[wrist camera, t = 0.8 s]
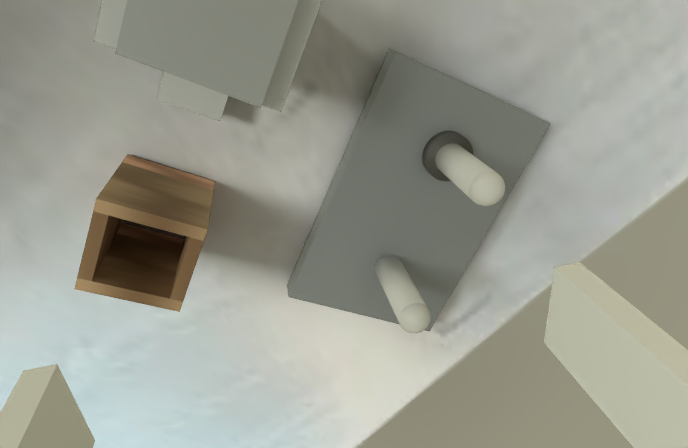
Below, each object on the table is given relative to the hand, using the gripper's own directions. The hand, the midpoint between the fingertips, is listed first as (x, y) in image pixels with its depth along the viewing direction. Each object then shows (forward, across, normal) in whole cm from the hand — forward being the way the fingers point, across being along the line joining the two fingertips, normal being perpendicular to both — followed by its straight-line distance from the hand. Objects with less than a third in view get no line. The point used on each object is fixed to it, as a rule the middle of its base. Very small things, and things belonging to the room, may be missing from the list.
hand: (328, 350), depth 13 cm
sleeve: (+20, -8, -3) cm, 22 cm away
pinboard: (+20, +9, -6) cm, 23 cm away
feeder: (+20, -3, +6) cm, 21 cm away
